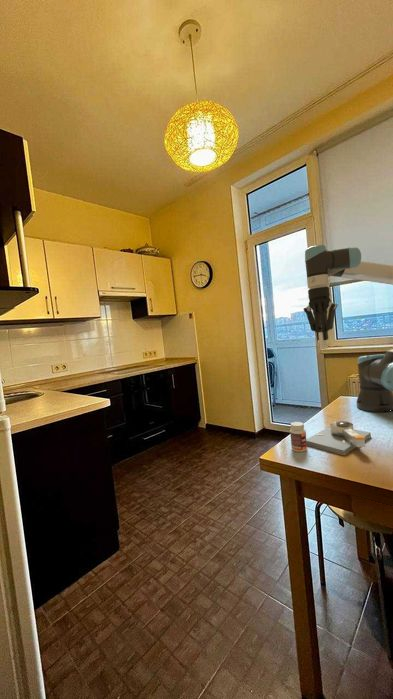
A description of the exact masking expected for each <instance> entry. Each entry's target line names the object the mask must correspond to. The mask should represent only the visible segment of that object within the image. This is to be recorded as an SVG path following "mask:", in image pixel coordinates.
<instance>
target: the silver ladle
mask: <svg viewBox="0 0 393 699" xmlns="http://www.w3.org/2000/svg"><path fill="white" fill-rule="evenodd" d="M329 425H330V426H329V427H330V429H331V434H333V435H335V436H340V437H345V438H346V439H347V440H348V441H350V442H351V443H352V444H353V445H355V446H356V448H361V447H362V448H363V447H366V444H365V442H366V441H365V440H364V439H365V437H364V436H363V435H359V434H357V433H356V432H354V430H353V429H354V424H353V423H352V422H350V421H345V420H336V421H331V422H330V423H329Z"/></svg>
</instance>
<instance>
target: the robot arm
mask: <svg viewBox="0 0 393 699" xmlns="http://www.w3.org/2000/svg"><path fill="white" fill-rule="evenodd" d="M326 247H327V246H326V245H324V244H317V245H312V246H309V247H308V248H306V249H305V251H304V263H305V271H306V284H307V288H308V290H307V294H308V295H307V296H308V300H309V302H308V305H307V306H306V307H304V308H303V312H304V313H305V314H306V316H307V320H308V322H309V326H310V330H311V331H312V332H314V333H315V332H316V339H317V341H318V342H319V350H326V349H328V343H327V341H328V340H329V334H328V333H329V331H331V330H332V329H334V328H333V327H334V322H335V315H336V309H337V308H338V303H335V302H332V301H331V298H330V296H331V294H330V287H329V285H330V283H329V282H330V281H329V278H330V277H336V278H343V279H344V278H345V279H351V280H357V281H364V282H369V283H370V282H371V283H379V284H385V285H392V286H393V265H392V264H385V263H377V262H370V261H362V252H361V250H360V248H359V247H347V248H346V247H345V248H339V249H332V250H331V249H330V250H327V248H326ZM328 308H329V309H328ZM357 371H358V381H359V392H358V395H357V398H356V409H359V410H361V411H365V412H371V411H372V412H373V413H385V412H384V411H389V412H391V411H390V410H393V348H392V349H388V350H387V351H386V352H385V353H383V354H382V353H381V354H372V355H369V354H368V355H363V356H362V355H361V356H359V357H358V358H357Z"/></svg>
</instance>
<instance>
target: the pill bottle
mask: <svg viewBox="0 0 393 699" xmlns="http://www.w3.org/2000/svg"><path fill="white" fill-rule="evenodd" d="M289 432H290V434H289V435H290V443H291V445H290V446H291V450H293V451H294V452H296V453H301V452H302V453H303V452H306V451H307V450H308V445H307V442H306V439H307V434H306V433H307V432H306V429H305V423H303V422H301V421H293V422H291V423H290V430H289Z"/></svg>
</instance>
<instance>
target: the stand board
mask: <svg viewBox="0 0 393 699" xmlns="http://www.w3.org/2000/svg"><path fill="white" fill-rule="evenodd" d="M353 430H354V432H356V433H357V434H359V435H363V436H364V437H365V439H364V440H365V442H366V441H368V440H369V439H370V438H371V436H372V435H371V434H372V433H371V432H370V431H366V430H365V431H364V430H359V429H354V428H353ZM306 442H307V447H313V448H316V449H319V450H323V451H327V452H331V453H334V454H338V455H342V456H346V455H347V454H349V453H350V452H351V451H353V450H354V449H356V448H357V447H356V446H355V445H353V444H352V443H351V442H350V441H348V440H347V439H346V438H345V437H340V436H335V435H333V434H331V429H330V426H329V427H327V428H324V429H323V430H320V431H319V432H317V433H316V434H314V435H312V436H310V437H308V438H306Z"/></svg>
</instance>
